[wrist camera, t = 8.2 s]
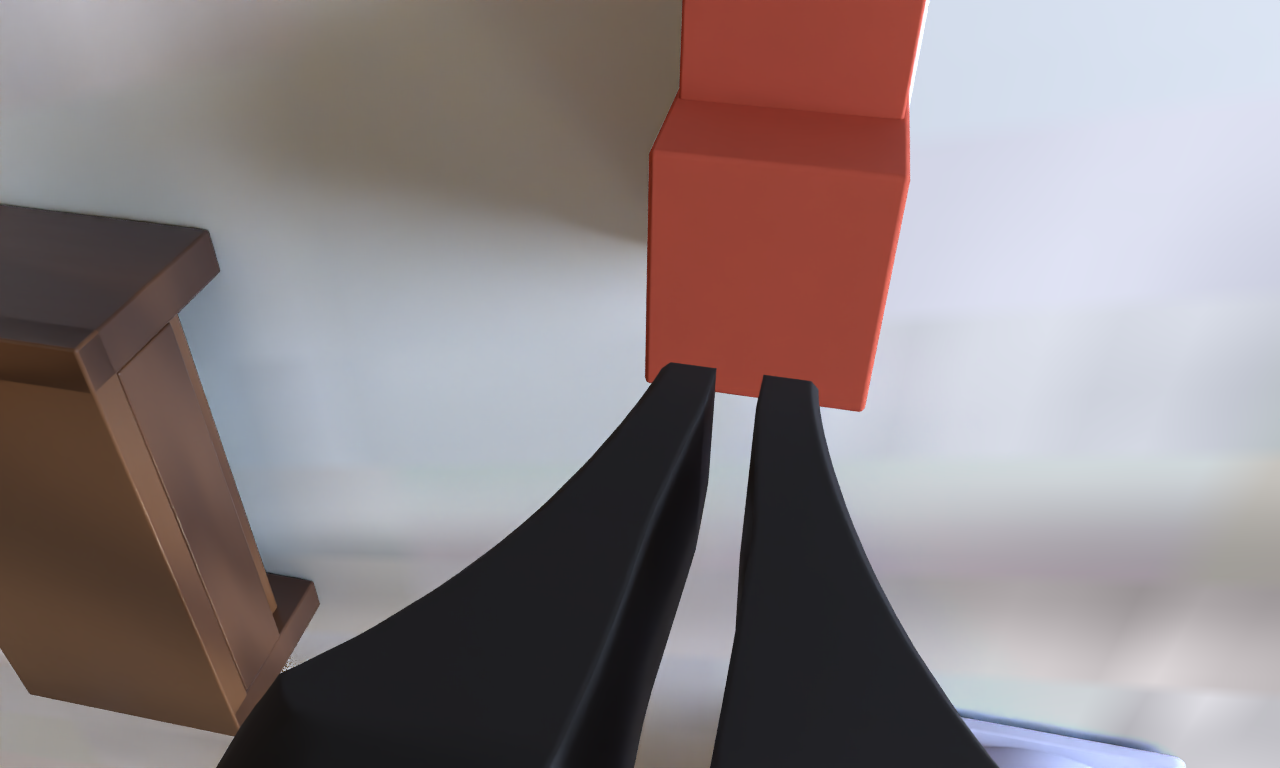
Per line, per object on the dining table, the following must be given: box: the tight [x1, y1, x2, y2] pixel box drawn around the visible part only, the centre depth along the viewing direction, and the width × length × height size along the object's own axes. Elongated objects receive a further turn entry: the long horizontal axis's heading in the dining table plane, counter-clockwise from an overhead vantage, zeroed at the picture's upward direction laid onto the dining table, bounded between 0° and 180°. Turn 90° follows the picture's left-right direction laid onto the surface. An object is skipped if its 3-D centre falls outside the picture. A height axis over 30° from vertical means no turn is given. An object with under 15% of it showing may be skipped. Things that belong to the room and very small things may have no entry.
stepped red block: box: [645, 0, 929, 412], centre depth 17 cm, size 7×4×5 cm, turn 179°
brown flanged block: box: [0, 205, 320, 736], centre depth 27 cm, size 14×7×5 cm, turn 179°
